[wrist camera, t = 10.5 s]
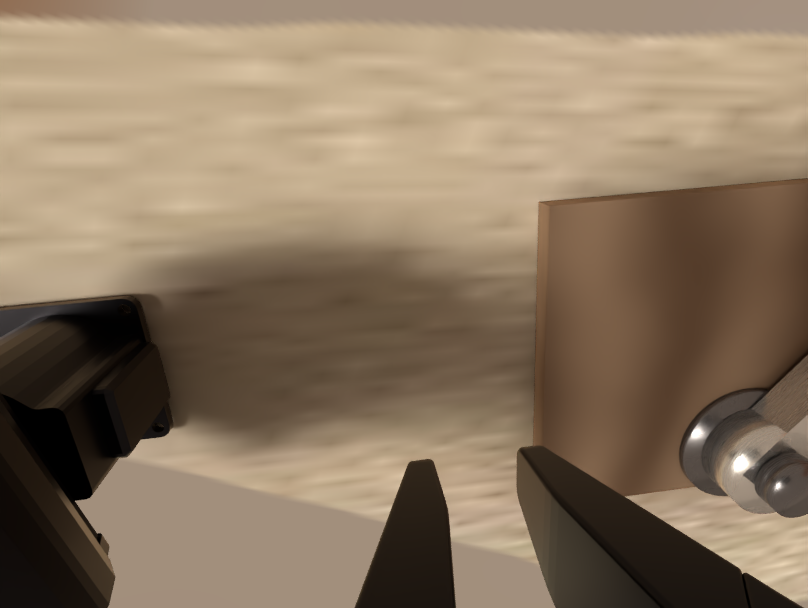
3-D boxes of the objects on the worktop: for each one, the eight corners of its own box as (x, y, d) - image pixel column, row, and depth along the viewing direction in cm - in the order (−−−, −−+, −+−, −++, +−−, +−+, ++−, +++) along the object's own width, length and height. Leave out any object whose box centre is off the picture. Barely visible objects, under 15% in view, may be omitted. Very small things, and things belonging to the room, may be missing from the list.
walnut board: (532, 491, 25) (540, 507, 24) (539, 202, 20) (549, 205, 19) (948, 435, 27) (974, 448, 26) (1050, 156, 22) (1088, 157, 21)
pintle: (672, 497, 25) (724, 556, 21) (687, 395, 23) (748, 442, 19) (781, 482, 25) (850, 538, 22) (805, 381, 23) (885, 424, 20)
